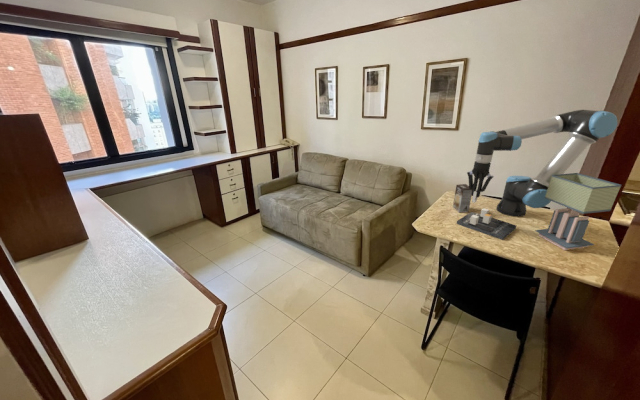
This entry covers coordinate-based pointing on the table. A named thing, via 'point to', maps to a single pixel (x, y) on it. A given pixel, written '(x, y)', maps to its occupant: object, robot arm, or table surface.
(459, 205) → the coffee box
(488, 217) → the block
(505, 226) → the panel
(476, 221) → the block
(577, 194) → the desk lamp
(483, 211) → the block
